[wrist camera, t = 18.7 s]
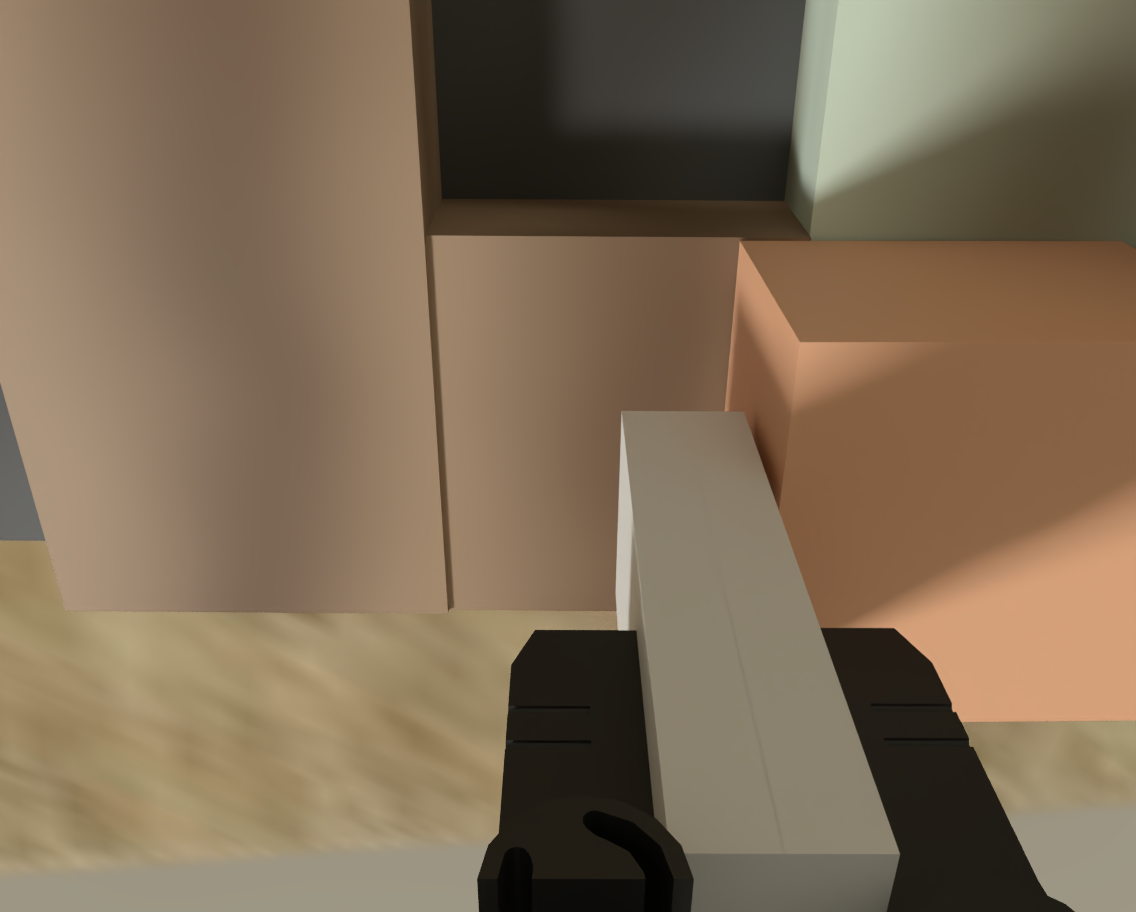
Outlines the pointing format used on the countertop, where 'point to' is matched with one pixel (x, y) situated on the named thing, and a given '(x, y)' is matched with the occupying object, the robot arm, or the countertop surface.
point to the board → (461, 259)
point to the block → (956, 454)
